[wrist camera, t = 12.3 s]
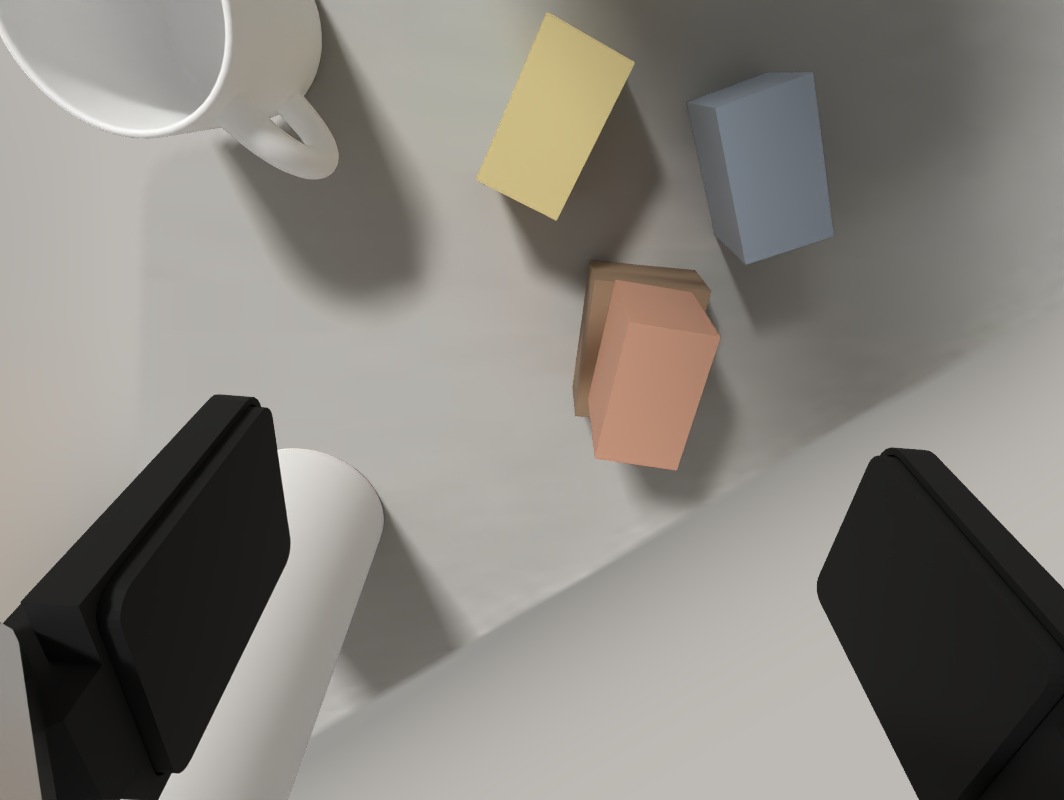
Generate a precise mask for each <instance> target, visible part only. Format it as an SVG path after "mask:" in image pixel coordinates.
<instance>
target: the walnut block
mask: <svg viewBox="0 0 1064 800" xmlns="http://www.w3.org/2000/svg"><path fill="white" fill-rule="evenodd" d="M615 280H621V281H627V282H633V283H639V284H645V285H652V286H658V287H664V288H670V289H676V290H682V291H688V292H692V293H693V294H694V296H695V298H696V299H697V301H698V302H699V304H700V305H701V307H702V308H703V310H704V312H705V313H706V310H707V306H708V301H709V297H710V293H711V290H710V289H709V288H708V286H707V285H706V284H705V283H704V281H703V280H702V279H701V277H700V276H699V275H698V273H697V272H696V271H695V270H685V269H675V268H664V267H654V266H644V265H633V264H623V263H612V262H602V261H591V260H590V263H589V271H588V278H587V285H586V293H585V300H584V307H583V315H582V322H581V329H580V336H579V344H578V351H577V358H576V366H575V373H574V380H573V396H574V407H575V416H581V417H590V412H589V404H588V397H589V393H590V388H591V384H592V379H593V375H594V371H595V366H596V362H597V358H598V353H599V349H600V345H601V340H602V336H603V332H604V327H605V323H606V319H607V314H608V310H609V306H610V301H611V297H612V293H613V288H614V284H615Z"/></svg>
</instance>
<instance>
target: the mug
mask: <svg viewBox="0 0 1064 800" xmlns="http://www.w3.org/2000/svg"><path fill="white" fill-rule="evenodd" d="M0 36H1V38H2V39H3V41H4V43H5V45H6V47H7V48H8V50H9V51H10V53H11V54H12V56H13V57H14V59H15V60H16V61H17V63H18V64H19V65H20V67H21V68H22V69H23V71H24V72H25V73H26V74H27V76H28V77H29V78H30V79H31V80H32V81H33V82H34V83H35V84H36V85H37V86H38V87H39V89H40V90H41V91H43V92H44V93H45V94H46V95H47V96H48V97H49V98H51V99H52V100H53V101H54V102H55V103H56V104H58V105H59V106H60V107H62V108H63V109H65V110H66V111H68V112H69V113H70V114H72V115H73V116H75V117H77V118H79V119H80V120H82V121H84V122H85V123H88V124H90V125H92V126H94V127H96V128H99V129H101V130H103V131H107V132H110V133H113V134H116V135H120V136H126V137H131V138H146V139H149V138H160V137H166V136H172V135H178V134H184V133H191V132H196V131H202V130H209V129H215V128H221V127H222V128H223V129H225V130H226V131H227V132H228V133H229V134H230V135H231V136H232V137H233V138H235V139H236V140H237V141H238V142H240V143H241V144H242V145H243V146H245V147H246V148H247V149H249V150H250V151H251V152H252V153H254V154H255V155H257V156H258V157H260V158H261V159H263V160H264V161H266V162H267V163H269V164H271V165H273V166H274V167H276V168H278V169H280V170H282V171H284V172H286V173H289V174H292V175H295V176H298V177H301V178H305V179H322V178H326V177H328V176H329V175H331V174H332V173H333V172H334V171H335V169H336V167H337V165H338V161H339V152H338V148H337V145H336V142H335V140H334V138H333V135H332V134H331V132H330V130H329V128H328V127H327V125H326V124H325V123H324V121H323V120H322V118H321V117H320V116H319V114H318V113H317V112H316V111H315V109H314V108H313V107H312V106H311V104H310V103H309V102H308V101H307V99H306V98H305V97H304V95H305V94H306V93H307V91H308V89H309V88H310V86H311V84H312V83H313V80H314V78H315V76H316V73H317V70H318V67H319V63H320V58H321V51H322V32H321V23H320V18H319V13H318V9H317V6H316V3H315V0H0ZM278 114H279V115H280V116H281V117H282V118H283V119H284V120H285V121H286V122H287V123H288V124H289V125H290V126H291V127H292V129H293V130H294V131H295V132H296V133H297V134H298V136H299V137H300V138H301V139H302V141H303V142H304V144H303V143H301V142H299V141H298V140H296V139H294V138H293V137H292V136H290V135H289V134H287V133H286V132H285V131H283V130H282V129H281V128H280V127H278V126H277V125H276V124H275V123H274V122H273V121H272V120H270V119H269V118H271V117H274V116H276V115H278Z"/></svg>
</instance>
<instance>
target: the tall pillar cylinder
mask: <svg viewBox="0 0 1064 800" xmlns="http://www.w3.org/2000/svg"><path fill="white" fill-rule="evenodd" d="M277 451H278V458H279V464H280V471H281V478H282V485H283V492H284V498H285V505H286V512H287V519H288V525H289V532H290V540H291V546H290V554H289V558H288V561H287V564H286V566H285V568H284V570H283V572H282V574H281V576H280V578H279V580H278V582H277V584H276V586H275V588H274V590H273V593H272V595H271V597H270V599H269V601H268V603H267V605H266V607H265V609H264V611H263V613H262V615H261V617H260V619H259V621H258V623H257V625H256V627H255V629H254V632H253V634H252V636H251V638H250V640H249V642H248V644H247V646H246V648H245V650H244V652H243V654H242V656H241V658H240V660H239V662H238V664H237V666H236V668H235V670H234V673H233V675H232V677H231V679H230V681H229V683H228V685H227V687H226V689H225V691H224V693H223V695H222V697H221V699H220V701H219V703H218V705H217V707H216V709H215V712H214V714H213V716H212V718H211V720H210V722H209V724H208V726H207V728H206V730H205V732H204V734H203V736H202V738H201V740H200V742H199V744H198V746H197V748H196V751H195V753H194V755H193V757H192V759H191V760H190V762H189V764H188V766H187V767H186V768H185V769H184V771H182V772H181V773H179V774H176V773H172V774H171V776H170V778H169V780H168V782H167V784H166V786H165V788H164V790H163V792H162V794H161V796H160V798H159V800H288V798H289V795H290V792H291V789H292V787H293V784H294V781H295V778H296V775H297V773H298V770H299V767H300V764H301V761H302V758H303V756H304V753H305V750H306V747H307V744H308V741H309V739H310V736H311V733H312V730H313V727H314V725H315V722H316V719H317V716H318V713H319V710H320V708H321V705H322V702H323V699H324V696H325V693H326V691H327V688H328V685H329V682H330V679H331V676H332V674H333V671H334V668H335V665H336V662H337V660H338V657H339V654H340V651H341V648H342V645H343V643H344V640H345V637H346V634H347V631H348V628H349V626H350V623H351V620H352V617H353V614H354V611H355V609H356V606H357V603H358V600H359V597H360V594H361V592H362V589H363V586H364V583H365V580H366V577H367V575H368V572H369V569H370V566H371V563H372V560H373V558H374V555H375V552H376V549H377V546H378V543H379V541H380V538H381V535H382V531H383V526H384V514H383V509H382V505H381V502H380V499H379V497H378V495H377V493H376V492H375V490H374V488H373V487H372V486H371V484H370V483H369V482H368V481H367V480H366V479H365V477H364V476H362V475H361V474H360V473H359V472H358V471H357V470H356V469H354V468H353V467H351V466H350V465H348V464H347V463H345V462H343V461H342V460H340V459H338V458H336V457H333V456H331V455H328V454H325V453H322V452H319V451H314V450H309V449H300V448H287V449H279V450H277ZM120 800H128V799H120Z"/></svg>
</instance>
